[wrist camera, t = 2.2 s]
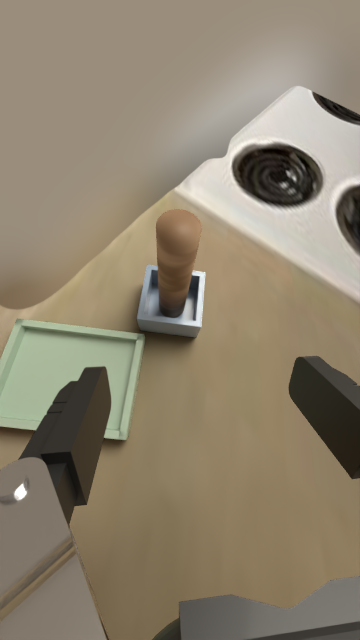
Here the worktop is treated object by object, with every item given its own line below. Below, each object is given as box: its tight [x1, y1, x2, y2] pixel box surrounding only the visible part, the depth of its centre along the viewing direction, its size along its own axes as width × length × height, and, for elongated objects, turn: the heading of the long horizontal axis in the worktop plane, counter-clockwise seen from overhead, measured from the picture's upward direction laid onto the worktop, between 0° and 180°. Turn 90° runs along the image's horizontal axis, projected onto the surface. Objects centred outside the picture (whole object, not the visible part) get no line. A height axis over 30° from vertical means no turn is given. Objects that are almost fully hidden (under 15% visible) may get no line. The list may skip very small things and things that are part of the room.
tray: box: [0, 318, 145, 440], centre depth 26 cm, size 16×12×2 cm
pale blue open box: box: [137, 265, 205, 338], centre depth 30 cm, size 8×8×4 cm
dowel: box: [156, 209, 202, 318], centre depth 24 cm, size 4×4×15 cm
